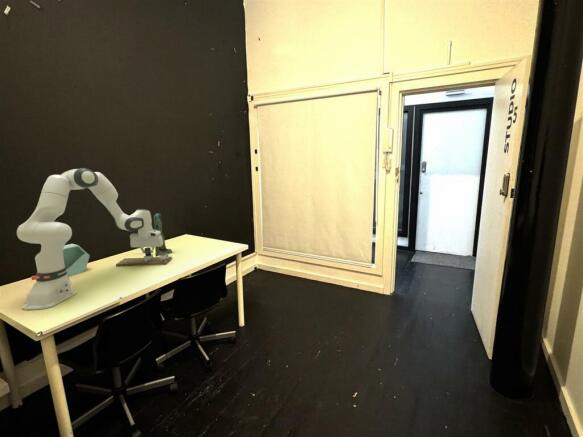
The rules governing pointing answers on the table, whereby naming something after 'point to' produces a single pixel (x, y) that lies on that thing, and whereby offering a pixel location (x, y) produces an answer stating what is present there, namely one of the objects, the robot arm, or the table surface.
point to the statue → (159, 228)
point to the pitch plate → (159, 260)
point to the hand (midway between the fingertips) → (148, 253)
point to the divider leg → (148, 254)
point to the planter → (75, 259)
